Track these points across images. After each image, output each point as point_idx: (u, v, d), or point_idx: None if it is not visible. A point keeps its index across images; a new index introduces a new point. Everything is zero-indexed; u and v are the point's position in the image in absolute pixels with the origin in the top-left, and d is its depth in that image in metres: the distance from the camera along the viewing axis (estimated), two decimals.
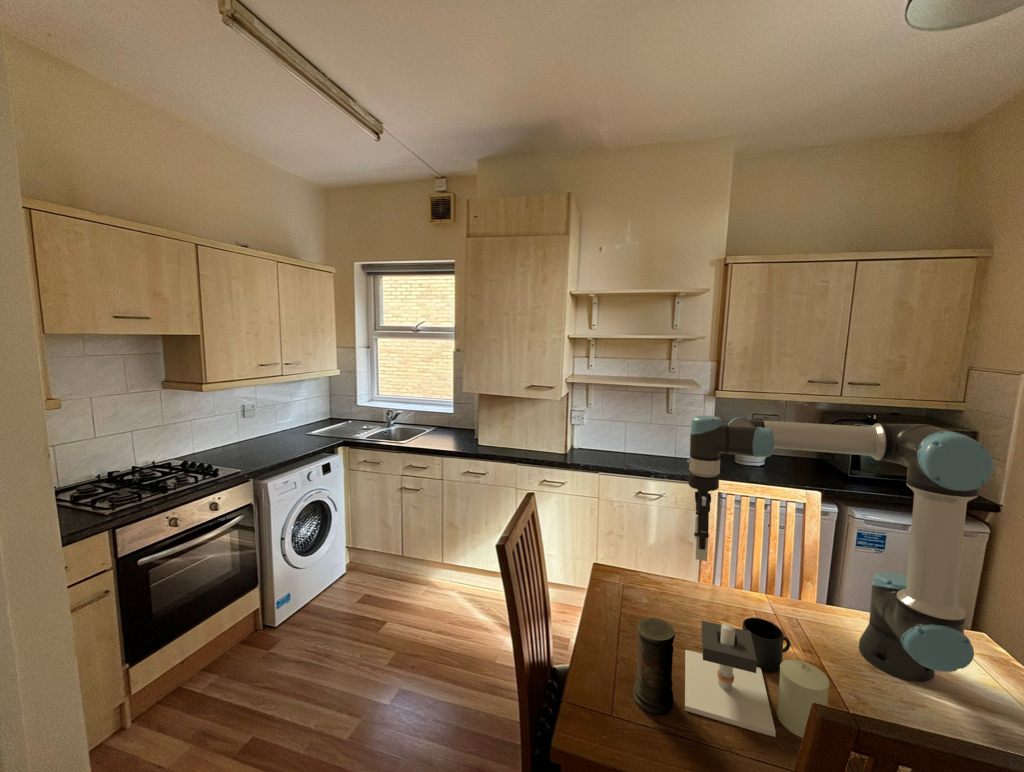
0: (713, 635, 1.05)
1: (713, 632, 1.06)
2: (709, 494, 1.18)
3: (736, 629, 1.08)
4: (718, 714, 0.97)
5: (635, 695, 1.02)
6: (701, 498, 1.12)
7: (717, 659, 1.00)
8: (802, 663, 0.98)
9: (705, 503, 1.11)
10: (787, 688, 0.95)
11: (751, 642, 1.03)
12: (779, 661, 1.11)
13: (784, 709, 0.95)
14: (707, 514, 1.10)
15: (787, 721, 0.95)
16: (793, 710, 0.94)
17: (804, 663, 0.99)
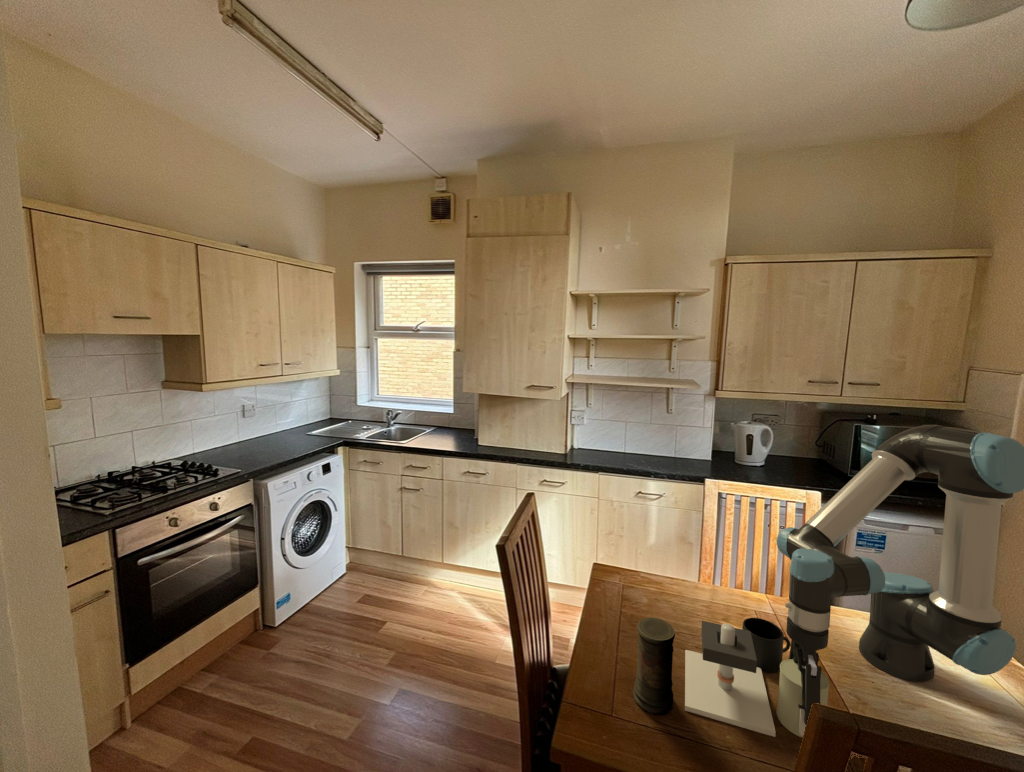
0: (713, 635, 1.05)
1: (713, 632, 1.06)
2: None
3: (736, 629, 1.08)
4: (718, 714, 0.97)
5: (635, 695, 1.02)
6: (810, 667, 0.89)
7: (717, 659, 1.00)
8: None
9: (816, 673, 0.89)
10: (787, 687, 0.95)
11: (751, 642, 1.03)
12: (779, 661, 1.11)
13: (784, 708, 0.95)
14: (818, 687, 0.89)
15: (787, 720, 0.95)
16: (793, 710, 0.94)
17: None
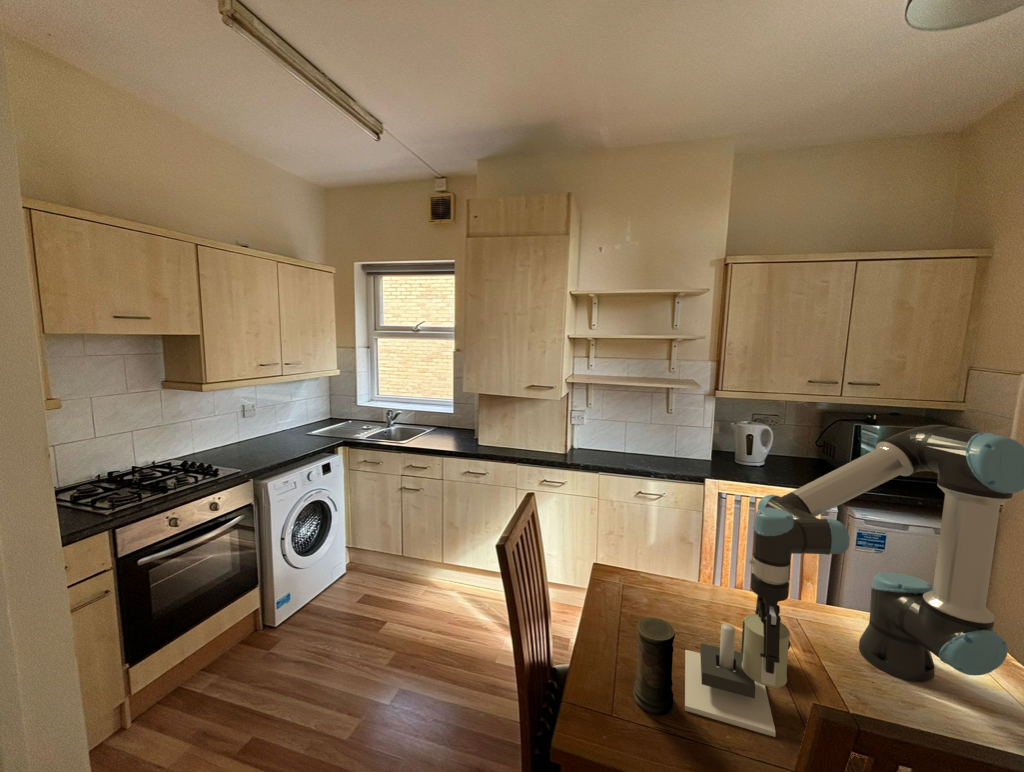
0: (712, 659, 1.06)
1: (712, 656, 1.07)
2: None
3: (735, 652, 1.08)
4: (718, 714, 0.97)
5: (635, 695, 1.02)
6: (770, 616, 0.94)
7: (716, 684, 1.01)
8: None
9: (775, 622, 0.94)
10: (750, 639, 1.00)
11: None
12: None
13: (748, 659, 1.01)
14: (777, 635, 0.94)
15: (750, 670, 1.00)
16: (755, 659, 0.99)
17: None
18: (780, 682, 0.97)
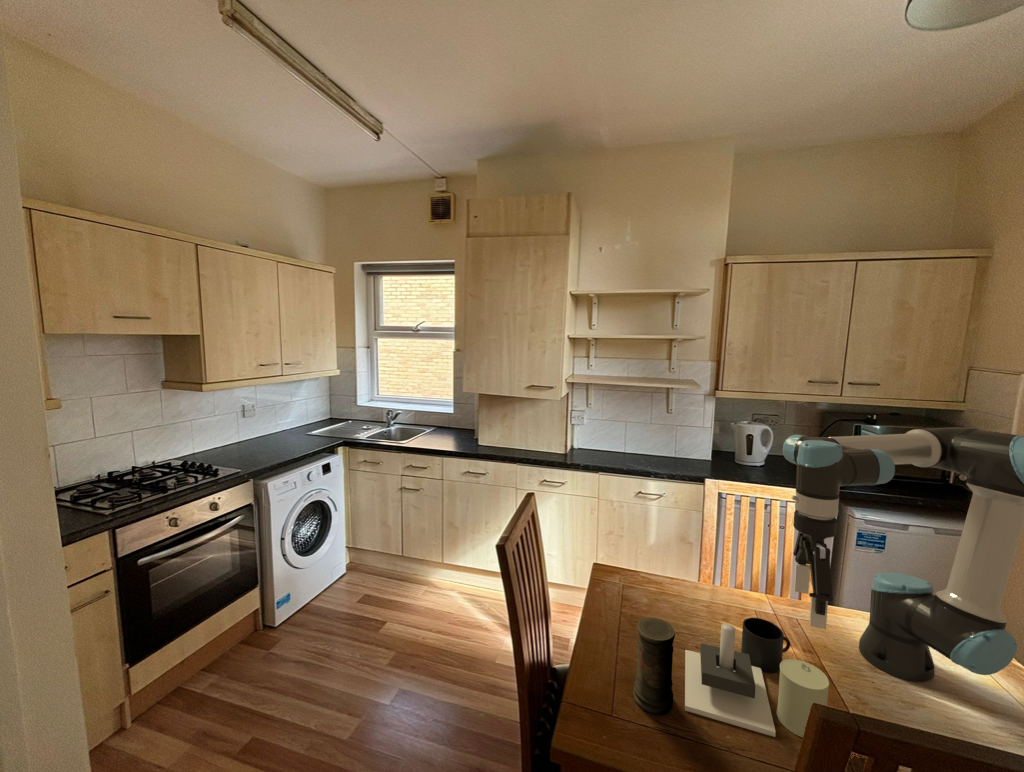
0: (712, 659, 1.06)
1: (712, 656, 1.07)
2: None
3: (735, 652, 1.08)
4: (718, 714, 0.97)
5: (635, 695, 1.02)
6: (819, 548, 0.87)
7: (716, 684, 1.01)
8: (802, 663, 0.99)
9: (825, 555, 0.86)
10: (787, 687, 0.95)
11: (750, 666, 1.04)
12: (779, 661, 1.11)
13: (784, 708, 0.95)
14: (828, 570, 0.85)
15: (787, 720, 0.95)
16: (793, 710, 0.94)
17: (804, 663, 0.99)
18: None
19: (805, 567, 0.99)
